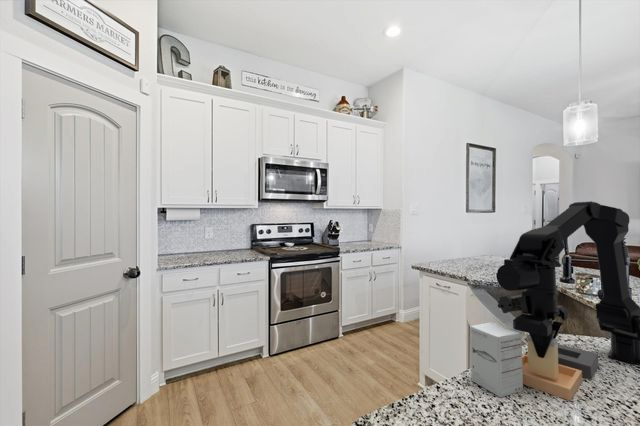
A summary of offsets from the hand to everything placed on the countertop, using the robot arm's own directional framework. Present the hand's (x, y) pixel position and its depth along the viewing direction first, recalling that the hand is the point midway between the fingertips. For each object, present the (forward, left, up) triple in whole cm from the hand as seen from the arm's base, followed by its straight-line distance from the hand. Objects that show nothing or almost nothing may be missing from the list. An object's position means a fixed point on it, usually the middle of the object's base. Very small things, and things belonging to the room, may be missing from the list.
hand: (543, 355), depth 68 cm
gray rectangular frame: (-13, +1, -6) cm, 14 cm away
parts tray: (0, 0, -6) cm, 6 cm away
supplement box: (+11, -6, -6) cm, 14 cm away
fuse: (0, 0, -4) cm, 4 cm away
